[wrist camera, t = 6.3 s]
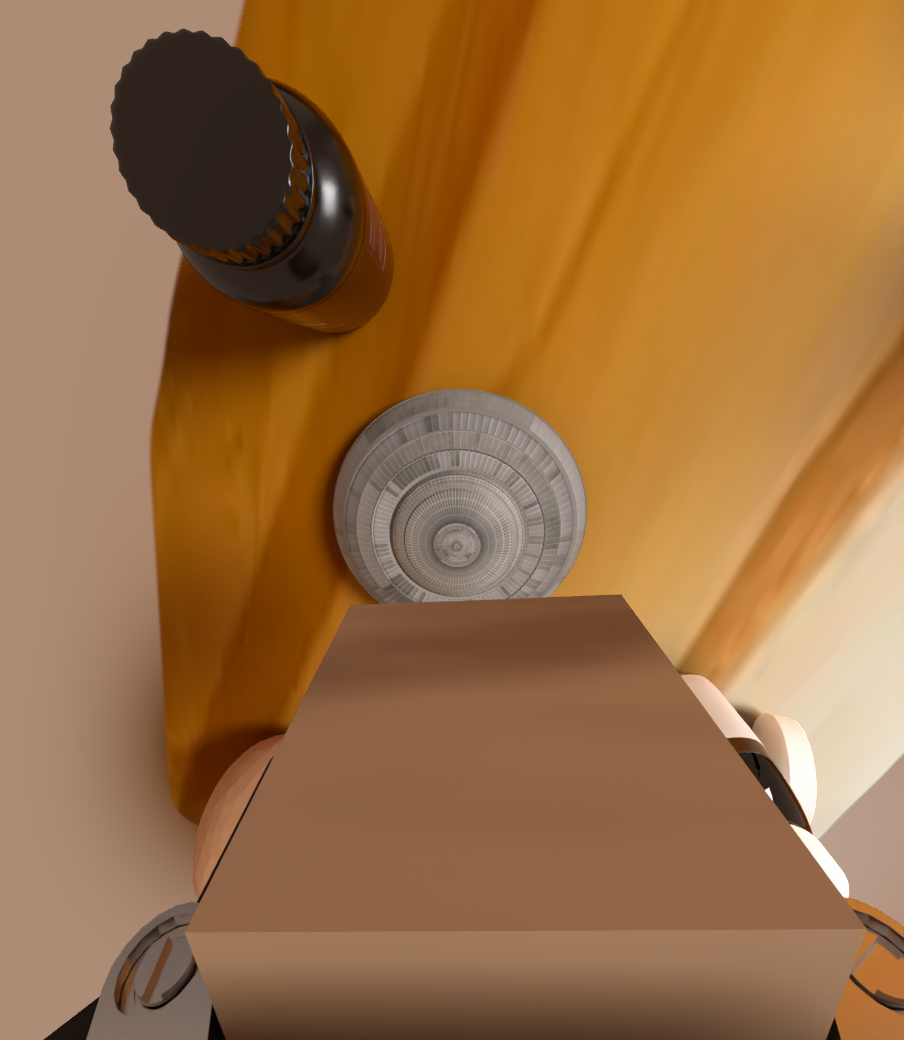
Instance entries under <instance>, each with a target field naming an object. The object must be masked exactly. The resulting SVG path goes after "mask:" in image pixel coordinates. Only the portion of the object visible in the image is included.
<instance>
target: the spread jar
mask: <svg viewBox="0 0 904 1040" xmlns="http://www.w3.org/2000/svg"><path fill="white" fill-rule="evenodd" d="M679 674H680V675H681V677H682V678H683V680H684V681H685V682H686V684H687V685H688V686H689V688H690V689H691V690H692V692H693V693H694V695H695V696H696V697H697V699H698V700H699V701H700V703H701V704H702V705H703V707H704V708H705V710H706V711H707V712H708V714H709V715H710V716H711V718H712V719H713V720H714V722H715V723H716V724H717V726H718V727H719V729H720V730H721V731H722V733H723V734H724V735H725V737H726V738H727V739H728V741H729V742H730V744H731V745H732V746H733V748H734V749H735V750H736V752H737V753H738V754H739V756H740V757H741V758H742V760H743V761H744V763H745V764H746V765H747V767H748V768H749V769H750V771H751V772H752V773H753V775H754V776H755V778H756V779H757V780H758V782H759V783H760V784H761V786H762V787H763V788H764V790H765V791H766V793H767V794H768V795H769V797H770V798H771V799H772V801H773V802H774V803H775V805H776V806H777V807H778V809H779V810H780V812H781V813H782V814H783V816H784V817H785V818H786V820H787V821H788V822H789V824H790V825H791V827H792V828H793V829H794V831H795V832H796V833H797V835H798V836H799V837H800V839H801V840H802V842H803V843H804V844H805V846H806V847H807V848H808V850H809V851H810V852H811V854H812V855H813V856H814V858H815V859H816V861H817V862H818V863H819V865H820V866H821V867H822V869H823V870H824V871H825V873H826V874H827V876H828V877H829V878H830V880H831V881H832V882H833V884H834V885H835V886H836V888H837V889H838V890H839V892H840V893H841V895H842V896H843V897H846V898H848V895H849V886H848V881H847V879H846V876H845V874H844V873H843V871H842V870H841V869H840V867H839V866H838V865H837V863H836V862H835V861H834V860H833V858H832V857H831V856H830V854H829V853H828V852H827V851H826V849H825V848H824V847H823V845H822V844H821V843H820V842H819V841H818V839H817V838H816V837H815V836H813V833H812V830H811V827H810V824H811V821H812V818H813V815H814V810H815V804H816V772H815V765H814V759H813V755H812V751H811V747H810V744H809V741H808V739H807V736H806V734H805V732H804V731H803V729H802V727H801V726H800V725H799V724H798V722H796V721H795V720H794V719H792V718H789V717H784V716H780V715H776V714H771V713H767V712H766V713H762V714H761V715H759V716H758V718H757V719H756V720H755V723H754V725H753V727H752V730H751V729H750V727H749V726H748V725H747V724H746V723H745V721H744V720H743V719H742V718H741V717H740V715H739V714H738V713H737V712H736V710H735V709H734V708H733V707H732V706H731V704H730V703H729V702H728V701H727V700H726V698H725V697H724V696H723V695H722V694H721V692H720V691H719V690H718V689H717V688H716V687H715V686H714V685H713V684H712V683H711V682H710V681H709V680H707V679H706V678H705V677H703V676H701V675H698V674H694V673H679Z"/></svg>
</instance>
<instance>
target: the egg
mask: <svg viewBox="0 0 904 1040" xmlns="http://www.w3.org/2000/svg"><path fill="white" fill-rule="evenodd" d="M284 735H285V734H282V735H277V736H273V737H271V738H268V739H266V740H263V741H260V742H258V743H257V744H255V745H253V746H252V747H250V748H249V749H248V750H247V751H245V752H244V753H243V754H242V755H241V756H240V757H239V758H238V759H237V760H236V761H235V762H234V763H233V764H232V765H231V766H230V767H229V768H228V769H227V771H226V772H225V773H224V775H223V776H222V778H221V779H220V781H219V782H218V783H217V785H216V787H215V789H214V791H213V793H212V795H211V796H210V798H209V800H208V802H207V805H206V807H205V810H204V812H203V815H202V817H201V821H200V824H199V827H198V832H197V837H196V844H195V849H194V856H193V884H194V888H195V892H196V896H197V897H198V899H199V897H200V895H201V893H202V891H203V889H204V887H205V885H206V883H207V881H208V879H209V877H210V875H211V873H212V871H213V869H214V867H215V866H216V864H217V862H218V860H219V858H220V856H221V854H222V852H223V850H224V848H225V846H226V844H227V842H228V840H229V838H230V836H231V834H232V832H233V830H234V828H235V827H236V825H237V823H238V821H239V819H240V817H241V815H242V813H243V811H244V809H245V807H246V805H247V803H248V801H249V799H250V797H251V795H252V793H253V791H254V789H255V787H256V786H257V784H258V782H259V780H260V778H261V776H262V774H263V772H264V770H265V768H266V766H267V764H268V763H269V761H270V760H271V758H272V757H273V756H274V755H275V753H276V751H277V749H278V747H279V745H280V743H281V741H282V739H283V737H284Z"/></svg>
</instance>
